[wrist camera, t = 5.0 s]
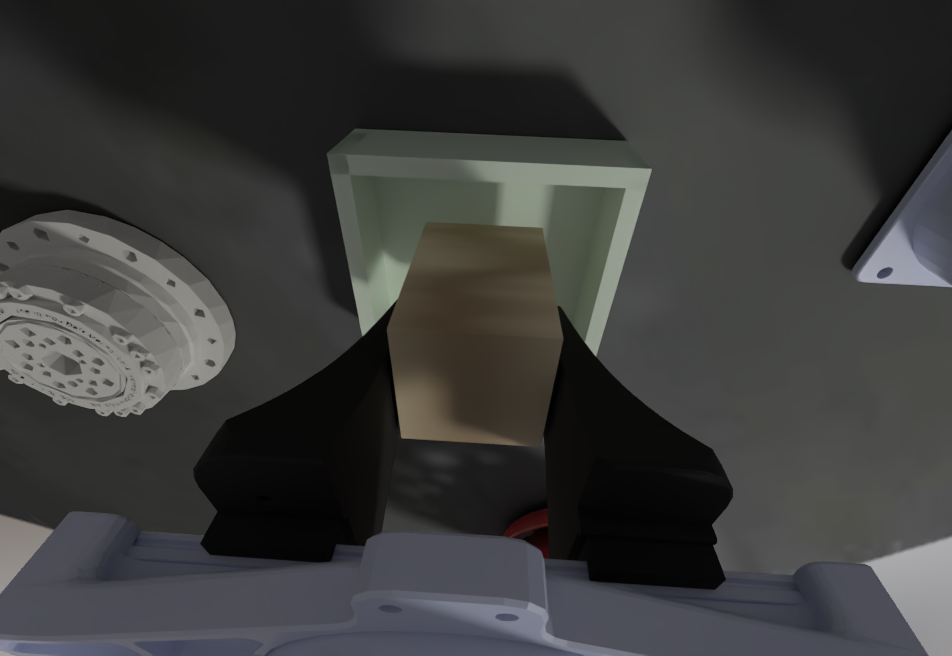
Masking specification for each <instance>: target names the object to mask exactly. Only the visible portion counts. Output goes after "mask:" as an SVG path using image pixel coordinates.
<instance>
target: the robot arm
mask: <svg viewBox="0 0 952 656" xmlns="http://www.w3.org/2000/svg"><path fill="white" fill-rule="evenodd" d="M882 269H883V270H882ZM880 270H882V271H880ZM879 271H880V272H879ZM851 272H852V276H853V277H854V278H856V279H857V280H858V281H860V282H867V283H886V284H905V285H924V286H943V287H952V130H951V132H950V133H949V134H948V136H947V137H946V139H945V140H944V141H943V143H942V144H941V146H940V147H939V148H938V150H937V151H936V153H935V154H934V155H933V157H932V158H931V160H930V161H929V162H928V164H927V165H926V166H925V168H924V169H923V171H922V172H921V173H920V175H919V176H918V178H917V179H916V180H915V182H914V183H913V185H912V186H911V187H910V189H909V190H908V192H907V193H906V194H905V196H904V197H903V199H902V200H901V201H900V203H899V204H898V206H897V207H896V208H895V210H894V211H893V213H892V214H891V215H890V217H889V218H888V220H887V221H886V222H885V224H884V225H883V227H882V228H881V229H880V231H879V232H878V234H877V235H876V236H875V238H874V239H873V241H872V242H871V243H870V245H869V246H868V248H867V249H866V250H865V252H864V253H863V255H862V256H861V257H860V259H859V260H858V261H857V263H856V264H855V266H854V267H853V269H852V271H851ZM397 300H398V299H397ZM397 300H396V301H395V302H394V303H393V305H392V306H391V307H390V308H389V309H388V310H387V311H386V313H385V314H384V315H383V316H382V317H381V318H380V319H379V320H378V321H377V322H376V323H375V324H374V325H373V326H372V327H371V328H370V329H369V330H368V331H367V333H366V334H365V335H363V336H362V337H361V338H360V339H359V340H358V341H357V342H356V343H355V344H354V345H353V346H352V347H350V348H349V349H348V350H347V351H346V352H345V353H344V354H342V355H341V356H340V357H339V358H337V359H336V360H335V361H334V362H332V363H331V364H330V365H328V366H327V367H326V368H324V369H323V370H321V371H320V372H318V373H317V374H315V375H313V376H312V377H310V378H309V379H307V380H306V381H304V382H302V383H301V384H299V385H298V386H296V387H294V388H292V389H291V390H289V391H287V392H285V393H283V394H282V395H280V396H278V397H276V398H274V399H272V400H270V401H268V402H266V403H264V404H262V405H260V406H257V407H255V408H253V409H251V410H248V411H246V412H244V413H242V414H239V415H237V416H235V417H232V418H230V419H227V420H226V421H225V423H224V424H223V425H222V426H221V428H220V429H219V430H218V432H217V433H216V435H215V436H214V438H213V439H212V441H211V442H210V444H209V446H208V447H207V449H206V450H205V452H204V453H203V455H202V456H201V458H200V459H199V461H198V463H197V464H196V466H195V467H194V469H193V472H194V478H195V481H196V482H197V484H198V486H199V488H200V489H201V490H202V492H203V493H204V494H205V495H206V497H207V498H208V499H209V501H210V502H211V503H212V505H213V506H214V507H215V508H216V510H217V511H218V512H217V514H216V516H215V517H214V519H213V521H212V523H211V525H210V526H209V528H208V530H207V532H206V533H205V535H191V534H176V533H161V532H147V531H140V529H139V528H138V526H137V525H136V524H135V523H134V522H133V521H132V520H130V519H128V518H126V517H124V516H121V515H116V514H107V513H92V512H78V511H74V512H70V513H69V514H68V515H67V516H66V517H65V518H64V519H63V521H62V522H61V523H60V524H59V525H58V527H57V528H56V529H55V530H54V531H53V532H52V534H51V535H50V536H49V537H48V538H47V540H46V541H45V542H44V543H43V544H42V545H41V547H40V548H39V549H38V550H37V551H36V553H35V554H34V555H33V556H32V558H31V559H30V560H29V561H28V562H27V563H26V564H25V566H24V567H23V568H22V569H21V570H20V572H19V573H18V574H17V575H16V576H15V577H14V579H13V580H12V581H11V582H10V583H9V585H8V586H7V587H6V588H5V589H4V591H2V593H1V594H0V650H2V651H4V652H7V653H10V654H13V655H15V656H928V654H927V653H926V651H925V650H924V648H923V646H922V645H921V643H920V642H919V640H918V639H917V637H916V636H915V634H914V633H913V631H912V630H911V628H910V626H909V625H908V623H907V622H906V620H905V619H904V617H903V616H902V614H901V613H900V611H899V610H898V608H897V606H896V605H895V603H894V602H893V600H892V599H891V597H890V596H889V594H888V592H887V591H886V589H885V588H884V586H883V585H882V583H881V582H880V580H879V579H878V577H877V576H876V574H875V573H874V571H873V569H872V568H871V567H870V566H868V565H865V564H853V563H838V562H813V563H808V564H806V565H804V566H802V567H800V568H799V569H798V570H797V571H796V572H795V573H794V575H780V574H765V573H751V572H736V571H723V570H722V567H721V565H720V562H719V560H718V557H717V554H716V552H715V549H714V547H713V545H715V544H716V543H717V537H716V534H715V532H714V529H713V527H712V524H713V523H714V522H715V520H716V519H717V518H718V517H719V516H720V515H721V513H722V512H723V511H724V510H725V509H726V508H727V506H728V504H729V503H730V501H731V499H732V498H733V488H732V486H731V484H730V482H729V480H728V478H727V475H726V473H725V471H724V469H723V467H722V465H721V463H720V462H719V460H718V458H717V456H716V455H715V453H714V451H713V449H711V448H709V447H708V446H706V445H704V444H703V443H701V442H699V441H698V440H696V439H694V438H693V437H691V436H689V435H688V434H686V433H684V432H683V431H681V430H680V429H678V428H677V427H675V426H674V425H672V424H671V423H669V422H668V421H667V420H665V419H664V418H662V417H661V416H659V415H658V414H657V413H655V412H654V411H653V410H651V409H650V408H649V407H648V406H646V405H645V404H644V403H643V402H641V401H640V400H639V399H638V398H637V397H635V396H634V395H633V394H632V393H631V392H630V391H628V390H627V389H626V388H625V387H624V386H623V385H622V384H621V383H620V382H619V381H618V380H617V379H616V378H615V377H614V376H613V375H612V374H611V373H610V372H609V371H608V370H607V369H606V368H605V367H604V365H603V364H602V363H601V362H600V361H599V360H598V358H597V357H596V356H595V355H594V354H593V352H592V351H591V350H590V348H589V347H588V346H587V344H586V343H585V342H584V340H583V339H582V338H581V336H580V335H579V334H578V332H577V331H576V329H575V328H574V326H573V325H572V323H571V322H570V320H569V319H568V317H567V315H566V314H565V312H564V311H563V309H562V308H561V307H560V306H557V308H558V313H559V318H560V323H561V329H562V334H563V343H562V348H561V353H560V357H559V362H558V367H557V372H556V376H555V381H554V386H553V390H552V395H551V400H550V405H549V409H548V414H547V419H546V423H545V428H544V433H543V435H544V444H545V461H546V482H547V509H548V551H549V559H544V558H543V555H542V552H541V551H540V550H539V549H538V548H537V547H535V546H533V545H532V544H530V543H528V542H526V541H525V540H520V539H515V538H510V537H505V536H491V535H476V534H461V533H446V532H431V531H416V530H391V531H383V532H382V527H383V520H384V514H385V507H386V501H387V495H388V489H389V483H390V477H391V472H392V466H393V460H394V455H395V450H396V444H397V439H398V435H399V431H400V424H399V416H398V409H397V402H396V394H395V387H394V379H393V372H392V364H391V357H390V350H389V342H388V335H387V327H388V324H389V322H390V319H391V316H392V313H393V311H394V308H395V305H396V302H397Z"/></svg>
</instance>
